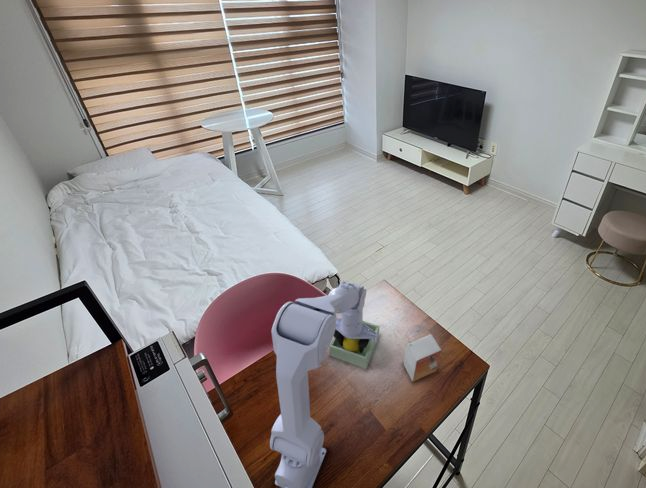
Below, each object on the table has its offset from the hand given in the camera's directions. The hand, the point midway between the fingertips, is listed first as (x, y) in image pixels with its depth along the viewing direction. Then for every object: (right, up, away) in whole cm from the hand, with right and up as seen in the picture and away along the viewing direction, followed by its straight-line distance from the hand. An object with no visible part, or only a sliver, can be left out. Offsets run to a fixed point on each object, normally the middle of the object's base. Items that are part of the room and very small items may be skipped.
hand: (352, 346), depth 96 cm
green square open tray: (+1, -1, +3) cm, 3 cm away
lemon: (0, -2, +1) cm, 2 cm away
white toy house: (+19, -5, -2) cm, 20 cm away
